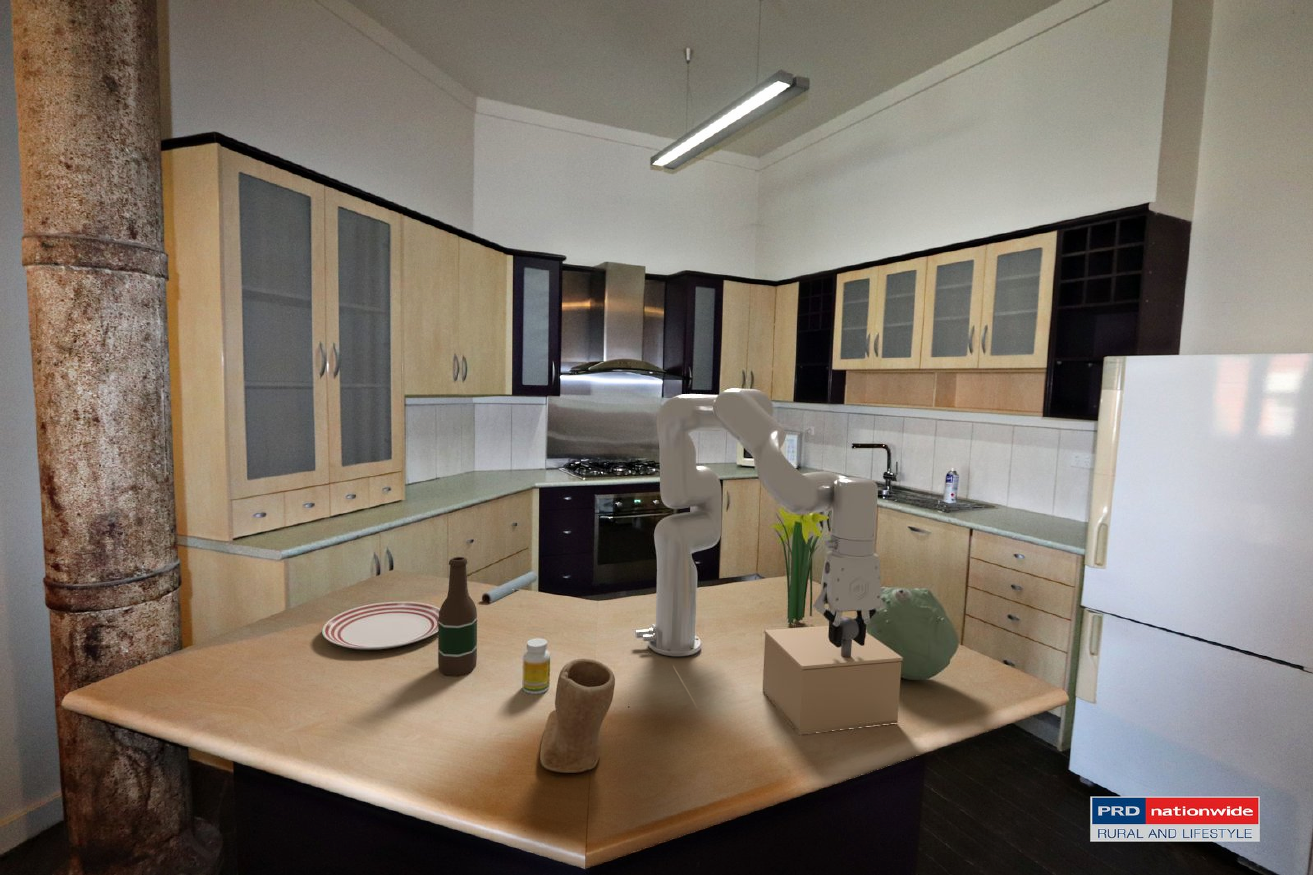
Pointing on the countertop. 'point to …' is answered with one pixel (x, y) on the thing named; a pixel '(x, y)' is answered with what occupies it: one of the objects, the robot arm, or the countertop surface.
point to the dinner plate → (382, 625)
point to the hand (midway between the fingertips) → (846, 642)
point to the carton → (831, 693)
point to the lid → (830, 646)
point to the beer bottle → (457, 625)
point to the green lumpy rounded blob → (915, 631)
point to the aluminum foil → (509, 587)
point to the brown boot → (577, 717)
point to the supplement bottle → (536, 667)
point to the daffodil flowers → (798, 558)
